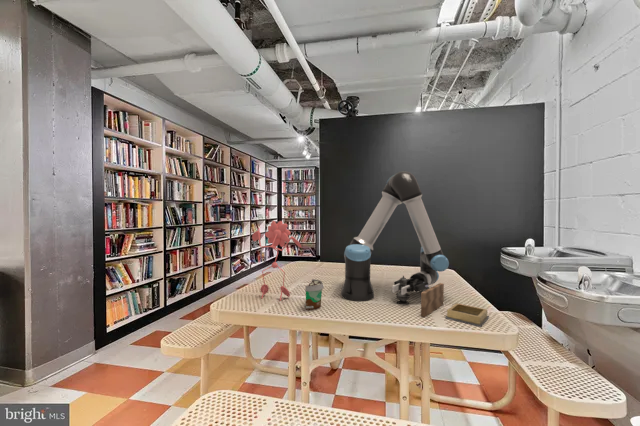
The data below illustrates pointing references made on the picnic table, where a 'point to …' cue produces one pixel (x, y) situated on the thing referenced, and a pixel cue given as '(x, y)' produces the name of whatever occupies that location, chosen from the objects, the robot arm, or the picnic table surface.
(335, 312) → the picnic table surface
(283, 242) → the pink tall figurine
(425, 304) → the board
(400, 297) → the salt shaker
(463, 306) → the yellow square tray
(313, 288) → the food container
